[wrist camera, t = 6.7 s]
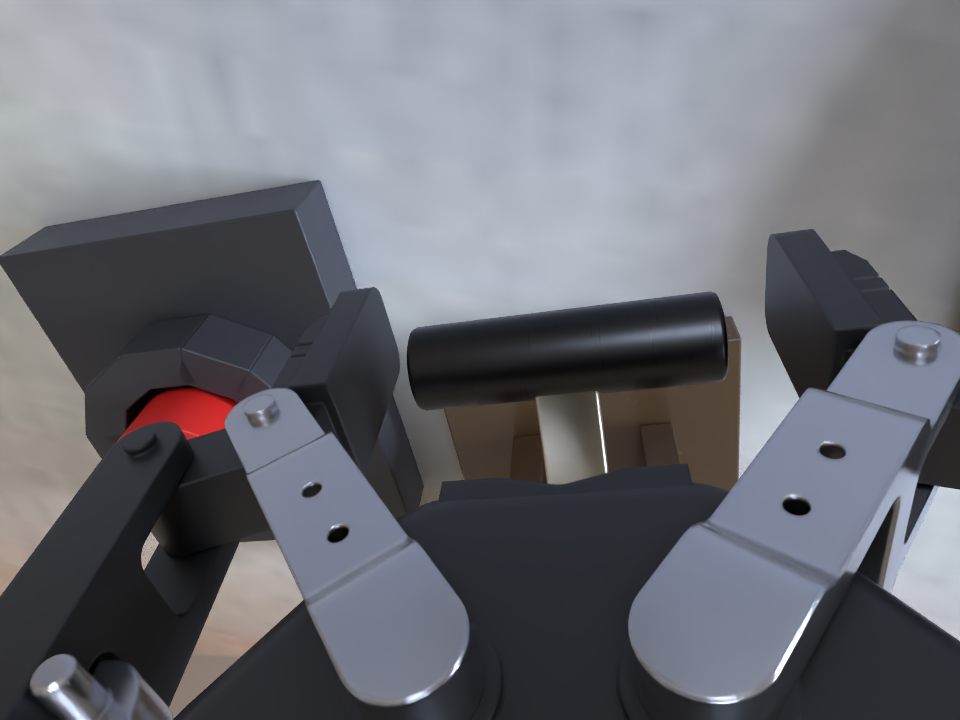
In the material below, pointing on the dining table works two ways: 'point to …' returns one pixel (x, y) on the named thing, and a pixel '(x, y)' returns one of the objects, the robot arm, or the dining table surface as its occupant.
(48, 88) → the dining table surface
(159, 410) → the button
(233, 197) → the button box
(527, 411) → the bracket
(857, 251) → the dining table surface
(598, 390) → the lever
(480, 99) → the dining table surface
